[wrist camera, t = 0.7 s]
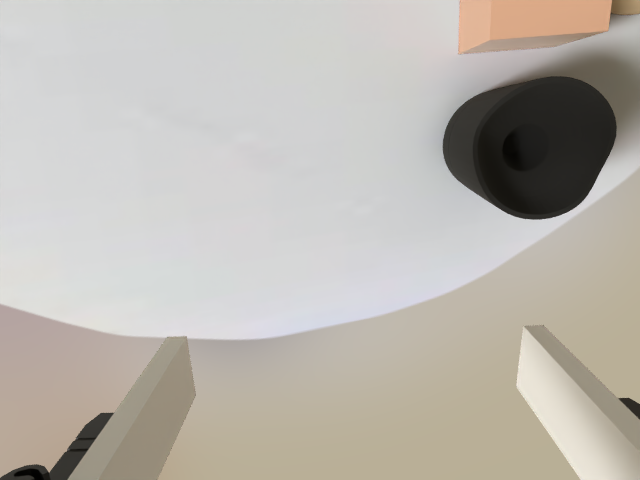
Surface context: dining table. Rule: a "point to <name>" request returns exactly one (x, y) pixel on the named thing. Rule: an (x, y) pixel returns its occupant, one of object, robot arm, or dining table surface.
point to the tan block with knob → (528, 23)
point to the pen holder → (531, 145)
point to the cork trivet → (625, 7)
